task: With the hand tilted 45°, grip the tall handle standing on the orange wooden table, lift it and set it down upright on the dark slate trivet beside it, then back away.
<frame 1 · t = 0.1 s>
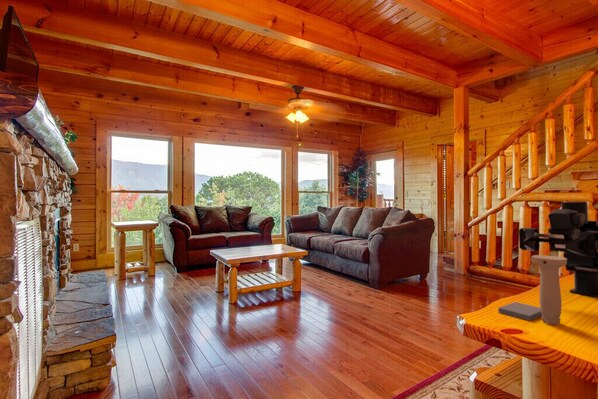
hand: (544, 244, 83), 17 cm above the table, tool horizontal, fingers open, 9 cm apart
handle: (551, 323, 75), on the table
slate trivet: (521, 313, 81), on the table
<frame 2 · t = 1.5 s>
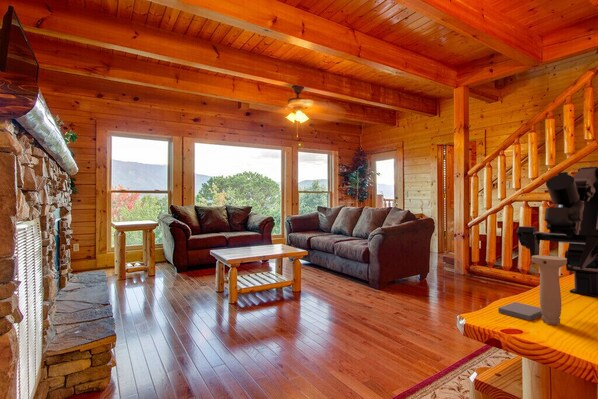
hand: (556, 265, 78), 12 cm above the table, tool tilted 45°, fingers open, 9 cm apart
nothing on the table moved.
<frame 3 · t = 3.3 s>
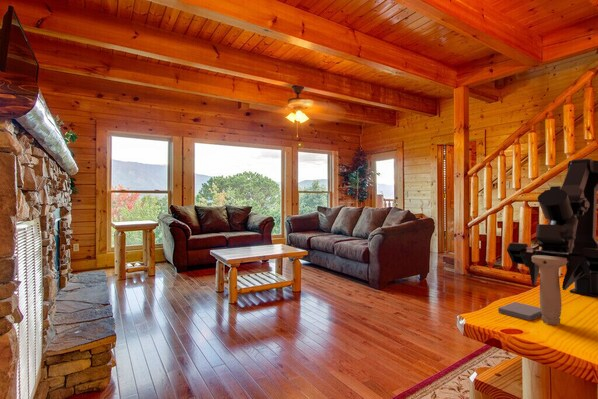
hand: (547, 286, 74), 9 cm above the table, tool tilted 45°, fingers closed on handle, 5 cm apart
handle: (551, 323, 75), on the table, touching gripper
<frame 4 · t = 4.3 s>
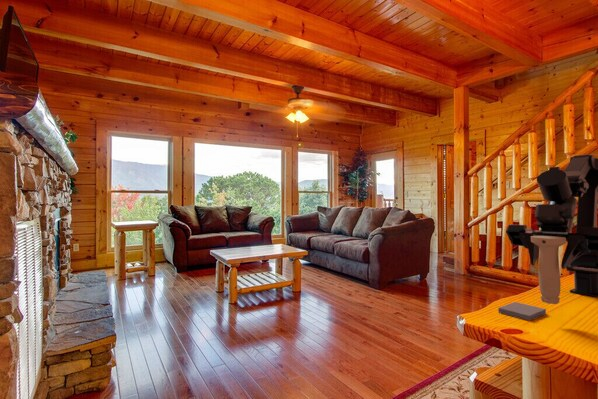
hand: (547, 266, 74), 13 cm above the table, tool tilted 45°, fingers closed on handle, 5 cm apart
handle: (550, 303, 75), point 4 cm above the table, touching gripper
when the fingers open (11 cm above the table, at t = 5.8 s): handle drops 1 cm, resting on slate trivet.
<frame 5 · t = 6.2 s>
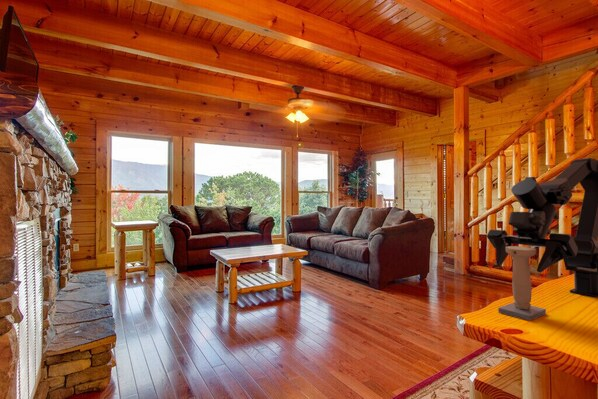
hand: (517, 268, 81), 11 cm above the table, tool tilted 45°, fingers open, 9 cm apart
handle: (522, 308, 82), point 1 cm above the table, touching slate trivet
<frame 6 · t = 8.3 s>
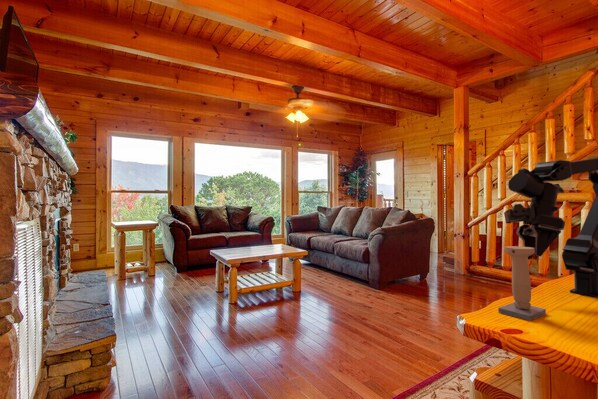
hand: (532, 257, 89), 12 cm above the table, tool tilted 20°, fingers open, 9 cm apart
nothing on the table moved.
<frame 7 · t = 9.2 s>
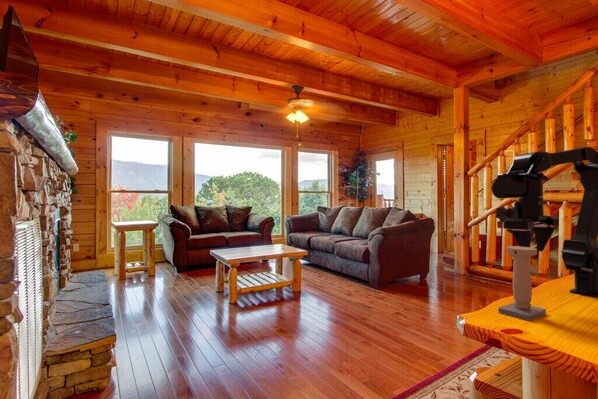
hand: (532, 252, 92), 13 cm above the table, tool pointing down, fingers open, 9 cm apart
nothing on the table moved.
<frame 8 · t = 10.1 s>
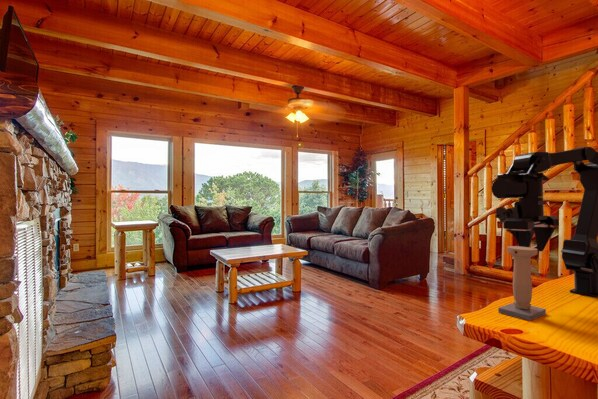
hand: (532, 252, 92), 13 cm above the table, tool pointing down, fingers open, 9 cm apart
nothing on the table moved.
at the end: handle inside the target area on the slate trivet (0.4 cm from its centre), point 1.0 cm above the slate trivet's base; handle tilted 1°; the gripper is holding nothing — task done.
